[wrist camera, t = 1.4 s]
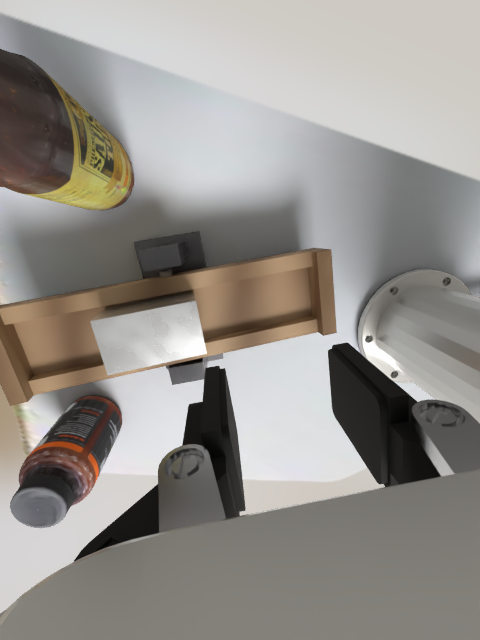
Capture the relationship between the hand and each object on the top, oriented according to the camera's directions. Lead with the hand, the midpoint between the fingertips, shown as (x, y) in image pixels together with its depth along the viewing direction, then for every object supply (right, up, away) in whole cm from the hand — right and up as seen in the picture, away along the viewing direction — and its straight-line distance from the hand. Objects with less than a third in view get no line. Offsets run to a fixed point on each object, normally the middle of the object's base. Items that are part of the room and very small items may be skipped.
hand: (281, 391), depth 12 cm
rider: (-8, +3, +13) cm, 15 cm away
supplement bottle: (-17, -8, +21) cm, 29 cm away
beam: (-8, +4, +16) cm, 18 cm away
